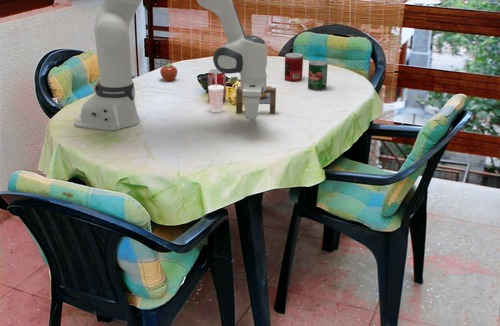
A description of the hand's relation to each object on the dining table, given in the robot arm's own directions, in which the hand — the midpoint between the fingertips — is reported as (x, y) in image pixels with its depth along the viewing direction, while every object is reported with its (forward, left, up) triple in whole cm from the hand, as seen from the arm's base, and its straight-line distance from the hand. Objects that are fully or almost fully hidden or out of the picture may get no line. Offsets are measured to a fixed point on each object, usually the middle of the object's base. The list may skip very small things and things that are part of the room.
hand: (252, 122), depth 216 cm
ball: (+1, +35, +1) cm, 35 cm away
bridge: (0, +17, -2) cm, 17 cm away
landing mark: (0, +33, -2) cm, 33 cm away
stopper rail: (0, +42, -2) cm, 42 cm away
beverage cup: (-15, +18, -2) cm, 23 cm away
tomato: (-40, +56, -2) cm, 69 cm away
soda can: (-16, +29, -2) cm, 33 cm away
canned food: (+14, +62, -2) cm, 64 cm away
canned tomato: (+24, +50, -2) cm, 56 cm away
